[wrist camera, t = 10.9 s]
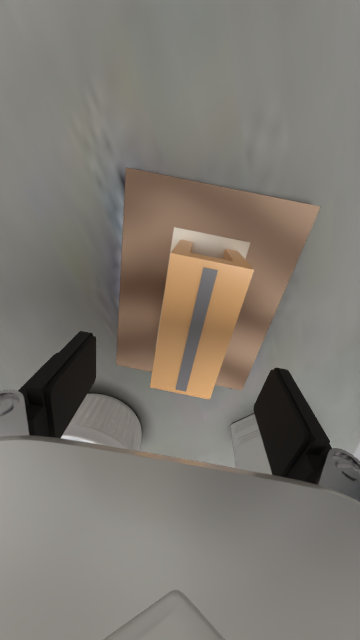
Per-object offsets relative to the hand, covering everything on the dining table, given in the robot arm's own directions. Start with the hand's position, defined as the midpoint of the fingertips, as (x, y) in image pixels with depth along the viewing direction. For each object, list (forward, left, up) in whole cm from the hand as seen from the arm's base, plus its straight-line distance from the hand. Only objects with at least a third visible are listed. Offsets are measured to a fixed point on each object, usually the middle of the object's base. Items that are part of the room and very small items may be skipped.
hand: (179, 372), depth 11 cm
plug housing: (0, -1, -9) cm, 9 cm away
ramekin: (-21, +8, -11) cm, 25 cm away
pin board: (0, -1, -11) cm, 11 cm away
